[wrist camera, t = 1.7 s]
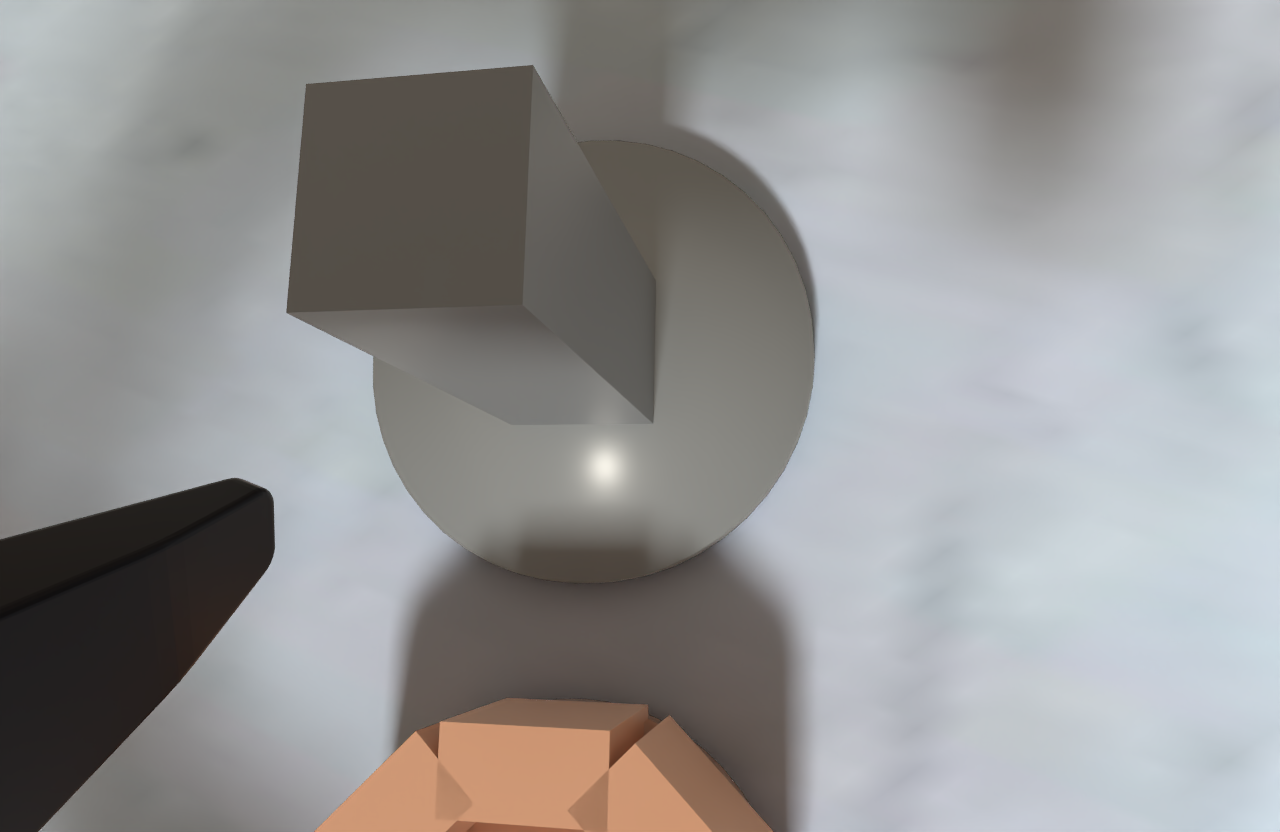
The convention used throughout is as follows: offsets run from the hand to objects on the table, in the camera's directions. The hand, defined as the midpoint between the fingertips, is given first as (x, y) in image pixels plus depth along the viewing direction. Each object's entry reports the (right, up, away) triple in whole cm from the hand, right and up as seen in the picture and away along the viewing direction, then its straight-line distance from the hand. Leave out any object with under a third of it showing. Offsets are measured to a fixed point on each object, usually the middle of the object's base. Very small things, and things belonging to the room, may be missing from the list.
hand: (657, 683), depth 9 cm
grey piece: (-1, +4, +15) cm, 15 cm away
